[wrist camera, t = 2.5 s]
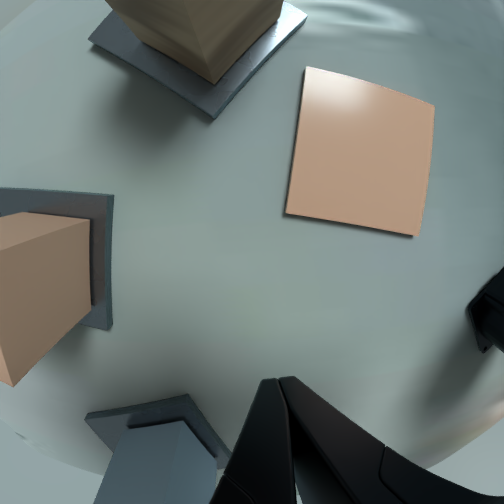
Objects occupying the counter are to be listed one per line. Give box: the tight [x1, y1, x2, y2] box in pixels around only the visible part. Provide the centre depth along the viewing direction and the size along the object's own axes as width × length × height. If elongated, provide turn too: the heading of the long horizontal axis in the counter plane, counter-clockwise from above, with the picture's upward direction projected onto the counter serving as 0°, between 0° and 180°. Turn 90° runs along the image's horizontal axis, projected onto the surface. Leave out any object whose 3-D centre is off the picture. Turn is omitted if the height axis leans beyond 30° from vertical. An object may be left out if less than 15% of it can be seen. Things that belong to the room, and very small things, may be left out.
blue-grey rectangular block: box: [93, 421, 217, 504], centre depth 16 cm, size 6×6×9 cm
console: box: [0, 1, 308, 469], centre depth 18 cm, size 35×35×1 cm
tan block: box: [0, 212, 91, 387], centre depth 12 cm, size 6×6×9 cm
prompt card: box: [285, 66, 435, 236], centre depth 17 cm, size 9×9×1 cm
